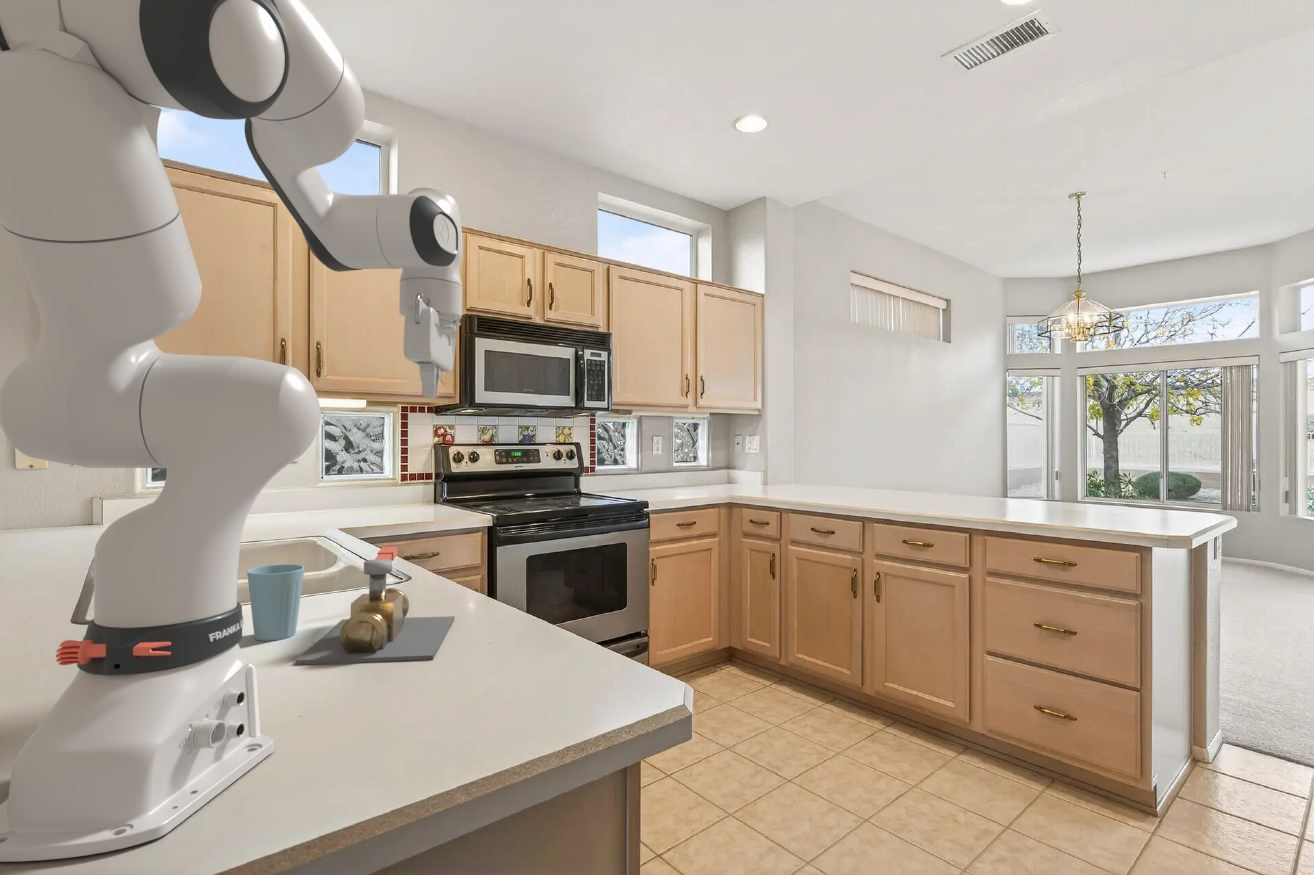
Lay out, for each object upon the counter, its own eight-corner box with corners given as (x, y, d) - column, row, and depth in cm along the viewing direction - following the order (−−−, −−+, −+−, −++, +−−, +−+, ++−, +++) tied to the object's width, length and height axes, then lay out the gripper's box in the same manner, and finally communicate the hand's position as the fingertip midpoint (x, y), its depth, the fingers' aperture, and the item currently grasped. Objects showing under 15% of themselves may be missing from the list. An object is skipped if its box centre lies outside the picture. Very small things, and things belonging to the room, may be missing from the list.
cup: (306, 638, 100) (307, 570, 100) (247, 646, 96) (248, 576, 96) (300, 626, 107) (301, 562, 107) (245, 633, 102) (246, 567, 102)
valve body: (384, 656, 93) (385, 585, 93) (339, 658, 92) (340, 586, 92) (409, 624, 108) (409, 563, 108) (370, 625, 107) (371, 564, 107)
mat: (432, 659, 92) (433, 655, 92) (295, 664, 89) (295, 660, 89) (454, 619, 111) (454, 616, 111) (342, 623, 109) (342, 619, 109)
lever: (390, 574, 99) (390, 563, 99) (361, 575, 97) (361, 564, 97) (402, 554, 114) (402, 545, 114) (377, 555, 113) (377, 546, 113)
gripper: (441, 290, 87) (440, 393, 87) (462, 317, 108) (461, 401, 108) (391, 288, 86) (390, 392, 86) (422, 315, 107) (421, 400, 107)
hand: (430, 397), depth 97 cm, fingers closed
